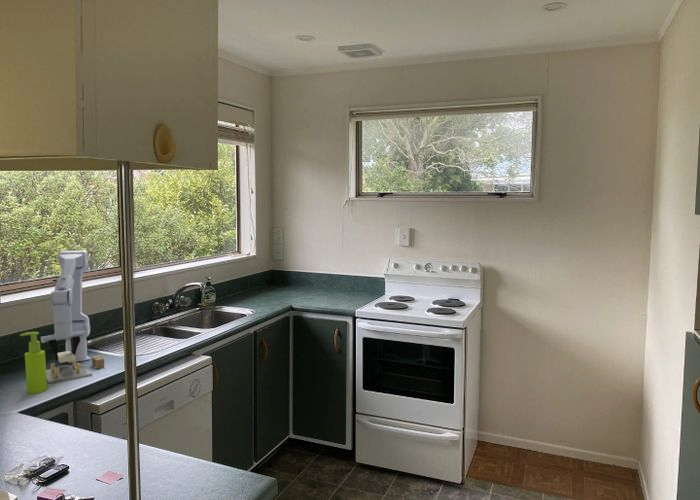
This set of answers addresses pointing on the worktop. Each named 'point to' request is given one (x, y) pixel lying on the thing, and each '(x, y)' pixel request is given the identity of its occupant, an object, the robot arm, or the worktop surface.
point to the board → (66, 356)
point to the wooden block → (97, 361)
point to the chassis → (66, 372)
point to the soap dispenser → (35, 365)
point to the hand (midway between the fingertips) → (65, 358)
